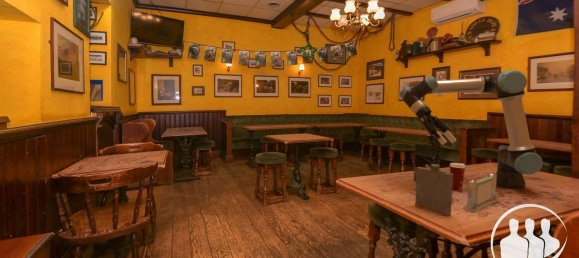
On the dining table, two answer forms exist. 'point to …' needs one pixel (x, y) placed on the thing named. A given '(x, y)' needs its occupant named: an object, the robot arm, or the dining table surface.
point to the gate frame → (472, 195)
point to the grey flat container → (416, 172)
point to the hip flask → (434, 189)
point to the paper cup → (457, 175)
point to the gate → (483, 190)
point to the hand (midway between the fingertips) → (449, 142)
